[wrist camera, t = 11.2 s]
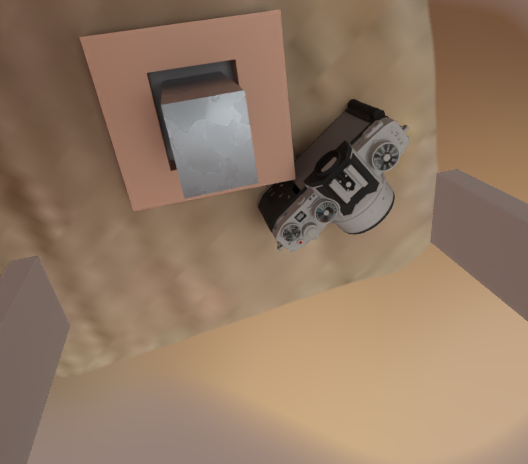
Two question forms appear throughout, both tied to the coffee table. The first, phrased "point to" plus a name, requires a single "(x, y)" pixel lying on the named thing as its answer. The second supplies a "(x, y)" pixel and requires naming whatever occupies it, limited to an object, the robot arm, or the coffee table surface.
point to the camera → (337, 179)
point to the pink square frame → (184, 65)
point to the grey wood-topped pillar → (209, 133)
